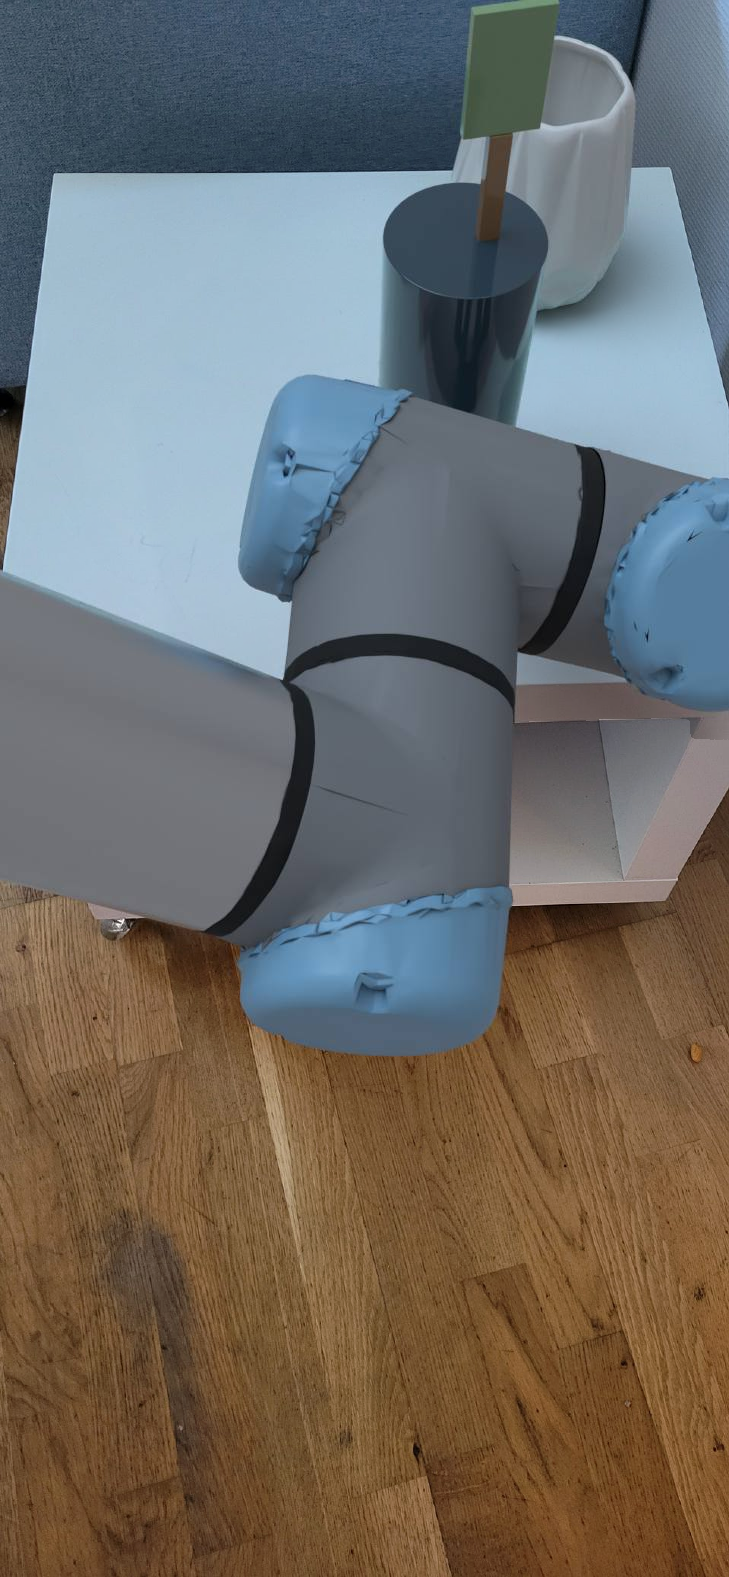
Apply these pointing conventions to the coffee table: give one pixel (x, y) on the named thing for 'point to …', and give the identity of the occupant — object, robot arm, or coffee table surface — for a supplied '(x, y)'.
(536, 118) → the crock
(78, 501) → the coffee table surface
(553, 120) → the vase
